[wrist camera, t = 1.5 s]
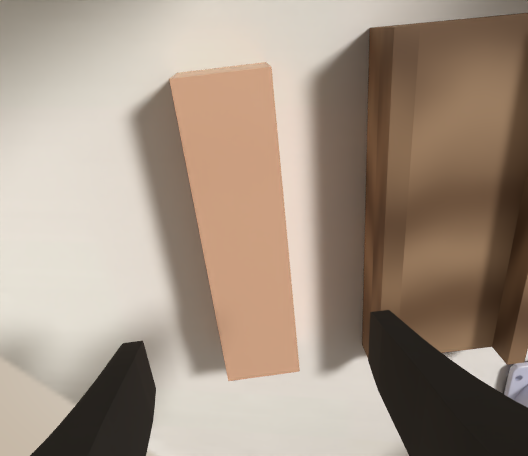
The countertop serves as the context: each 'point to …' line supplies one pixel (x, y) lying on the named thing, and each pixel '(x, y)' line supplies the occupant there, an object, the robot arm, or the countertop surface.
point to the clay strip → (240, 212)
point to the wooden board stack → (449, 182)
